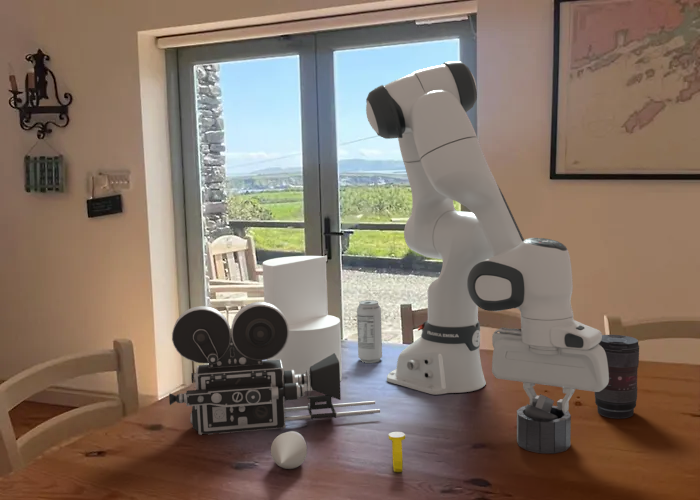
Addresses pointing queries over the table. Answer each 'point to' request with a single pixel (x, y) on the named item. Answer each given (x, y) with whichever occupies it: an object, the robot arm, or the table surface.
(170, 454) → the table surface
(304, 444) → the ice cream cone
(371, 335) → the energy drink can
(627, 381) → the camera lens
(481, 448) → the table surface
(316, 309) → the cylinder
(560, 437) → the faceted grey ring
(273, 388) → the film camera
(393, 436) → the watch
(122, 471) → the table surface
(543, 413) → the grey dial knob
